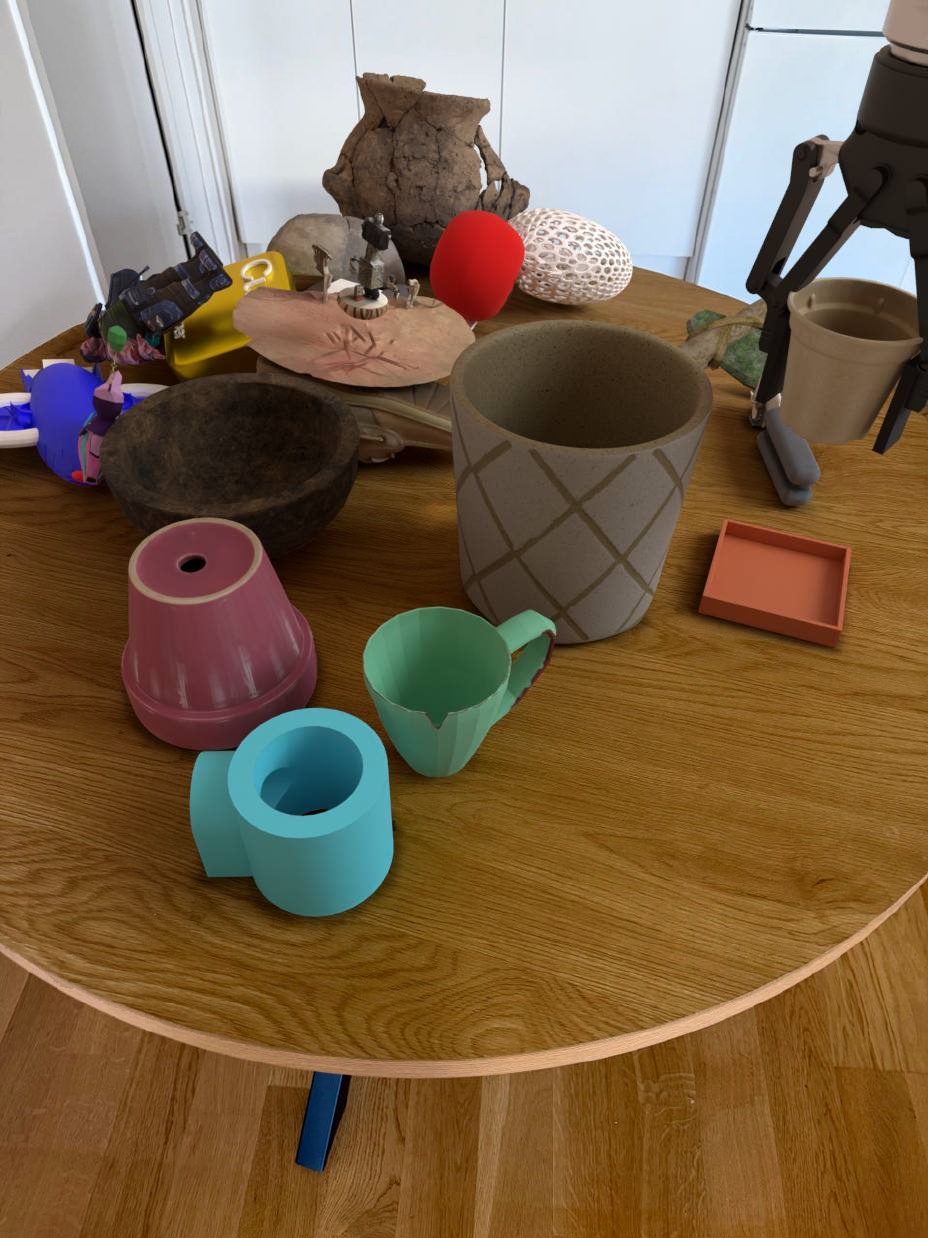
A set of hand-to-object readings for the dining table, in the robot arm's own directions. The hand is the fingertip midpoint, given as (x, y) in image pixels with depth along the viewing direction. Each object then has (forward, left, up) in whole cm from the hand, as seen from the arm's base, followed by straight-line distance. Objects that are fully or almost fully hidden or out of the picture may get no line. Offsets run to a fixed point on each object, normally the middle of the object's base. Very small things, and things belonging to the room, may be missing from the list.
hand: (825, 419), depth 64 cm
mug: (+9, +27, -19) cm, 35 cm away
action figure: (+66, +7, -6) cm, 66 cm away
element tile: (+66, +5, -16) cm, 68 cm away
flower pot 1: (+26, +37, -6) cm, 45 cm away
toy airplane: (+64, +26, -14) cm, 71 cm away
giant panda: (+55, -10, -13) cm, 58 cm away
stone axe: (+18, -16, -19) cm, 30 cm away
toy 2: (+73, +12, -16) cm, 75 cm away
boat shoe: (+41, +5, -11) cm, 43 cm away
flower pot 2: (0, 0, -1) cm, 1 cm away
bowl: (+40, +24, -19) cm, 50 cm away
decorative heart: (+50, -24, -10) cm, 56 cm away
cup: (+10, +42, -19) cm, 47 cm away
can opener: (+11, -22, -19) cm, 31 cm away
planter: (+15, +9, -19) cm, 26 cm away
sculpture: (+49, +2, -11) cm, 50 cm away
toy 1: (+52, +24, -2) cm, 58 cm away
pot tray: (+1, -4, -19) cm, 19 cm away
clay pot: (+71, -27, -18) cm, 78 cm away
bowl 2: (+70, -14, -8) cm, 72 cm away
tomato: (+55, -16, -8) cm, 58 cm away
